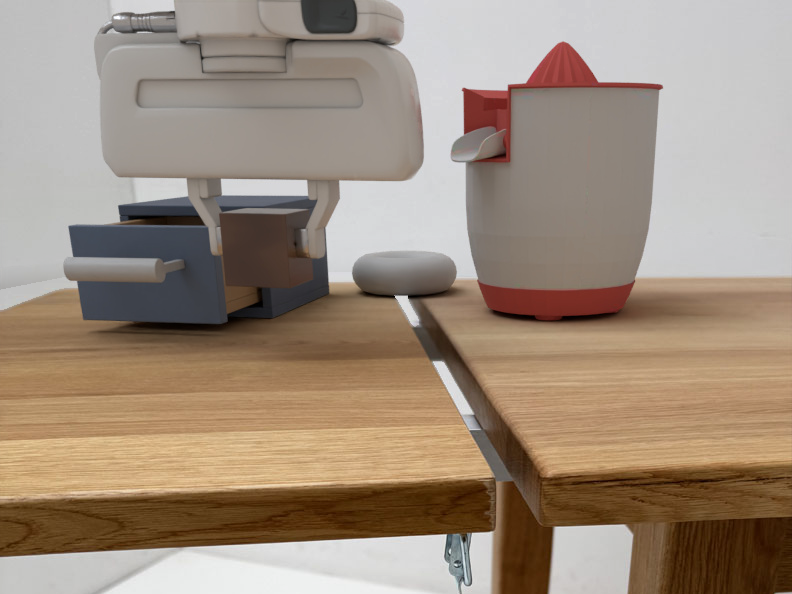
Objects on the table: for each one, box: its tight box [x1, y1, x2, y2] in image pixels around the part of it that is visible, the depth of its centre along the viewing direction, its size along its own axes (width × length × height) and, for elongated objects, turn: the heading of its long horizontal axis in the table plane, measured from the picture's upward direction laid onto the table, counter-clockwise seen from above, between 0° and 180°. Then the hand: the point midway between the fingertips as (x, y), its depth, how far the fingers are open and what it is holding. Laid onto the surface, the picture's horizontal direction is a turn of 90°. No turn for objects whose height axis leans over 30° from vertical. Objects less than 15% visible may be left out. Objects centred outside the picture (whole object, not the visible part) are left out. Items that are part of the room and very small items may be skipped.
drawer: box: [62, 216, 263, 325], centre depth 80 cm, size 18×11×7 cm, turn 168°
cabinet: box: [117, 194, 330, 319], centre depth 90 cm, size 15×13×9 cm
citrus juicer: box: [450, 40, 664, 321], centre depth 82 cm, size 16×17×20 cm
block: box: [219, 208, 313, 288], centre depth 66 cm, size 4×4×4 cm
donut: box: [351, 250, 458, 297], centre depth 97 cm, size 10×4×10 cm
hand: (269, 256), depth 66 cm, fingers closed on block, 4 cm apart
